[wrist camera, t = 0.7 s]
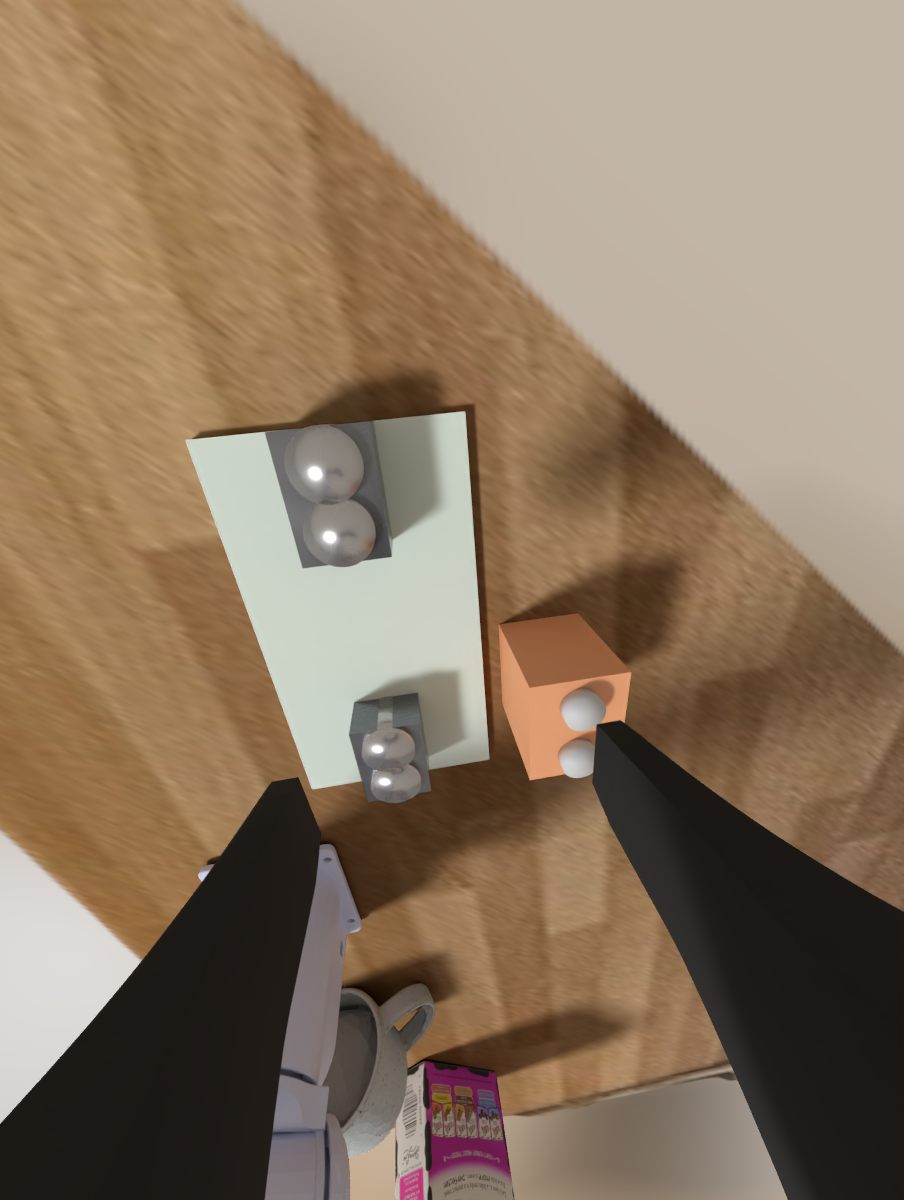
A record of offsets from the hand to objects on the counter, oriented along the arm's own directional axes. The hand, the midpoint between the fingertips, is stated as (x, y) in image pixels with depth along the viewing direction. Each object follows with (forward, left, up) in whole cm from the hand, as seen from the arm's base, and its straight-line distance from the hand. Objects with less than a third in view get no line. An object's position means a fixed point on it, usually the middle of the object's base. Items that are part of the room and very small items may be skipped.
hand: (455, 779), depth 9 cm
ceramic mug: (-37, +9, -10) cm, 39 cm away
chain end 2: (-7, +3, -9) cm, 12 cm away
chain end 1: (+6, +3, -9) cm, 11 cm away
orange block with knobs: (-4, -5, -10) cm, 12 cm away
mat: (-1, +3, -10) cm, 10 cm away
